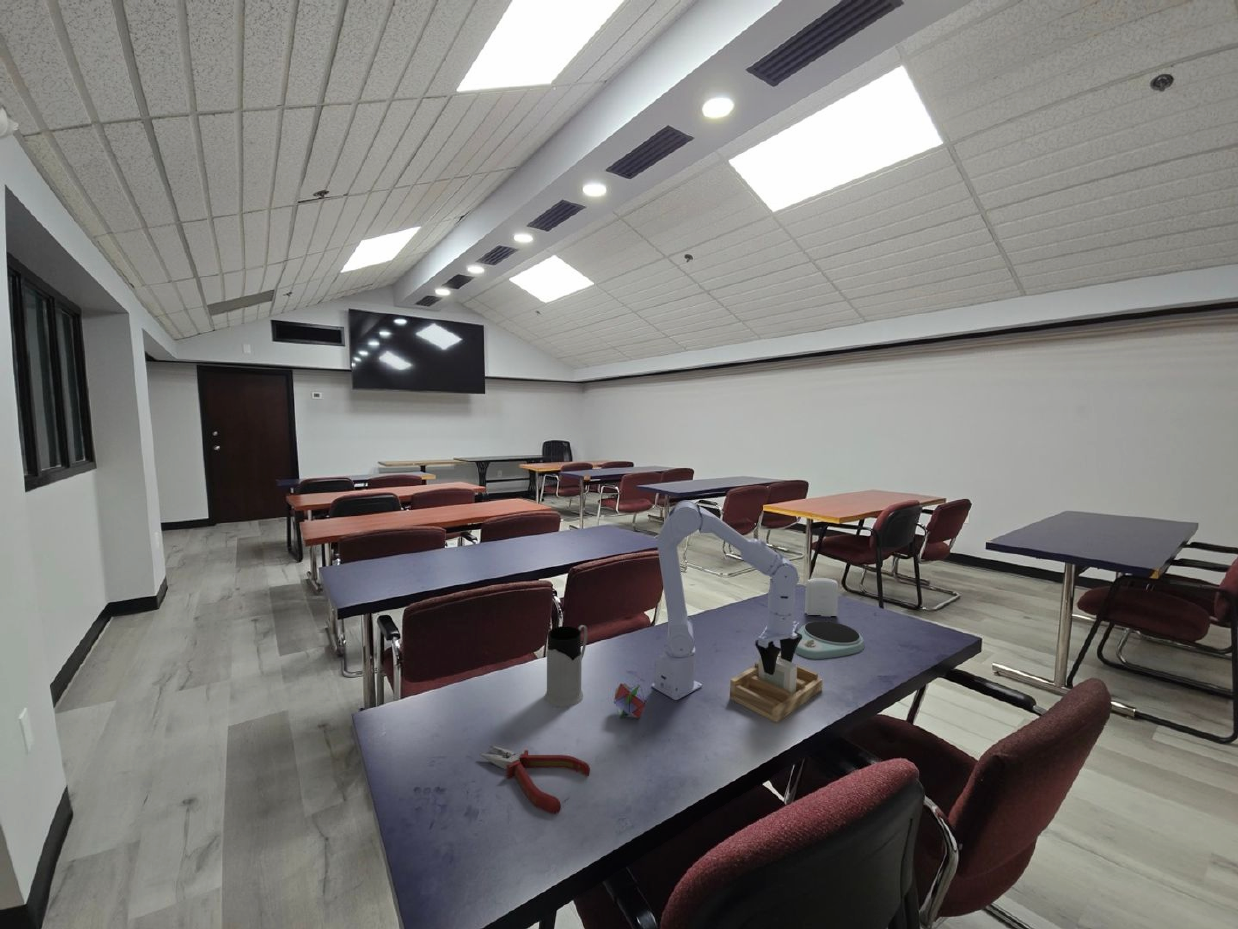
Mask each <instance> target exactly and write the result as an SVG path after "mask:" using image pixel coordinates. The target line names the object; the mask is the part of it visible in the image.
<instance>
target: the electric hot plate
mask: <svg viewBox="0 0 1238 929" xmlns="http://www.w3.org/2000/svg"><path fill="white" fill-rule="evenodd" d="M797 633H799V634H802V639H801V641H800V642H799V644H798V646H797V648H796V650H795V653H796V654H798V655H799V656H801V657H804V658H808V659H813V660H814V659H816V660H817V659H828V658H836V657H843V656H848V655H853V654H857V653H860V652H861V651H863V650H864V648H865V641H864V638H863V636H862V635H861V634H860V632H858V631H857V630H856V629H854V628H852V627H851V626H847V625H845V624H842V623H839V622H834V621H828V620H813V621H810V622H807V623H805V624H804V625H802V626H801V627H799V631H797Z"/></svg>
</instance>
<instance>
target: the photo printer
mask: <svg viewBox="0 0 1238 929" xmlns="http://www.w3.org/2000/svg"><path fill="white" fill-rule="evenodd" d="M804 599H805V600H804V601H805V602H804V614H805V613H807V614H809V615H821V616H820V617H831V616H836V617H838V607H839V606H838V604H839V584H838V581H837V580H836V579H831V578H827V577H814V578H810V579H807V580H806V582H805V597H804Z"/></svg>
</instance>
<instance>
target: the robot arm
mask: <svg viewBox="0 0 1238 929" xmlns="http://www.w3.org/2000/svg"><path fill="white" fill-rule="evenodd" d="M697 531H698V533H699V534H713V535H714V536H716V537H717V538H719V539H721V541H722V540H723V542H726V543H727V544H728V545H730V546H731V547H733V548H735V549H736V550H738V551H739V552H740V558H741V560H742V561H744V562H745V563H747V564H748V565H750V566H751V567H753V568H754V569H756V570H757V571H759V572H760V573H761V574H763V575H764V576H767V577H769V578H770V579H769V589H768V599H767V601H768V602H767V619H766V627H765V628H764V630H763V631H762V633H761V634H760V635H759V636H758V637H757V638H758V639H756V640H755V642H754V644H755V645H754V646H755V647H756V649H757V650H758V653H759V656H761V660H762V664H763V669H764V672H765V673H768V674H770V675H773V674H774V671H775V666H776V660H777V657H778V655H779V654H781V658H782V659H784V660H787V661H789V662H791V663H793V659H794V656H795V653H796V652H795V650H796V648H797V646H798V644H799V642H800V641H801V639H802V634H799V633H798V631H799V630H800V622H799V621H795V620H794V619H795V618H794V615H795V604H796V603H795V602H796V601H795V600H796V590H795V589H796V586H797V585H798V583H799V581H800V576H799V572H798V570H797V568H796V567H795V566H794V564H793V563H792V561H791V560H789V559H788V558H787V557H786V556H785V555H784V554H782V553H781V552H779V553H778V552H776V551H775V550H774V549H772V548H770V547H769V546H767V542H766V541H765V540H763V539H760V540H759V539H757V538H749V539H748V538H746V537H744V536H743V535H742V534H741V533H739V532H738V531H737V530H736V529H734V528H733V527H731V526H730V525H728V523H726V522H725V521H724V520H722V519H721V518H719V517H718V516H717V515H715V514H713V513H712V512H710V511H709V510H708V509H706V508H704V507H701V506H698V505H697V504H696V503H695V502H693V501H692V500H685V499H684V500H680V501H679V502H678V503H676V504H675V505H674V506H673V507H672V508H671V509H670V510H669V511H668V514H667V516H666V518H665V520H664V522H663V524H662V526H661V529H660V530H659V532H658V534H657V538H656V544H657V551H658V558H659V559H658V560H659V566H660V572H661V578H662V579H661V580H662V585H663V593H664V600H665V606H666V613H667V638H666V643H665V645H664V650H663V652H662V654H660V656H658V657H657V658H656V659H655V661H654V680H653V683H652V684H651V687H652V688H654V689H655V690H657V691H659V692H660V693H662V694H664V695H666V696H668V697H669V698H671V699H672V700H674V701H678V700H680V699H681V698H684V697H685V696H688V695H689V694H690V693H693V692H694V691H696V690H698V689H700V688H702V687H703V684H702V683H700V682H699V681H696V680H695V674H696V673H695V671H696V670H695V669H696V668H695V667H696V647H695V639H694V624H693V622H692V621H691V619H690V618H689V614H688V610H687V604H686V598H685V591H684V586H683V577H682V570H681V564H680V563H681V562H680V556H679V550H678V546H679V545H680V543H682V541H684V539H685V538H686V537H688V536H689V537H690V536H691V535H692V534H694V533H695V532H697ZM775 641H779V646H780V647H778V646H777V645H775V644H774V642H775Z"/></svg>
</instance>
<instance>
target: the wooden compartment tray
mask: <svg viewBox="0 0 1238 929" xmlns="http://www.w3.org/2000/svg"><path fill="white" fill-rule="evenodd" d="M778 657H779V658H781V653H779V655H778ZM796 665H797V679H796V693H795V694H793V695H792V696H791V692H790V691H788V690H785V689H783V688H781V687H779V686H777V685H774V684H772V683H770V682H768V681H766V680H764V679H761V678H759V677H758V672H759V661H756V662H754V666H752V667H750V668H748V669H747V670H745V671H743V672H741V673H740V674H737V675H736V676H734V677H732V678H731V679H730V684H729V686H730V687H729V699H730V700H732V701H734V702H736V703H739V704H740V705H742V706H744V707H746V708H748V709H749V710H752V711H754V712H755V713H757V714H759V715H761V716H763V717H765V718H767V719H769V720H770V721H772V722H774V723H779V722H780V721H781V720H783V719H785V718H786V717H787V716H788V715H790V714H791V713H793V712H794V711H795V710H796V709H798V708H799V707H801V706H802V705H804V703H806V702H808V701H809V700H810V699H812V698H813V697H814V696H815V695H817V694H818V693H820V692H821V691H822V690H823V682H824V681H823V679H822V678H820V677H818V676H819V673H818V672H815V671H813V670H811V669H808V668H806V667H803V666H800V665H798V664H796Z"/></svg>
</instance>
